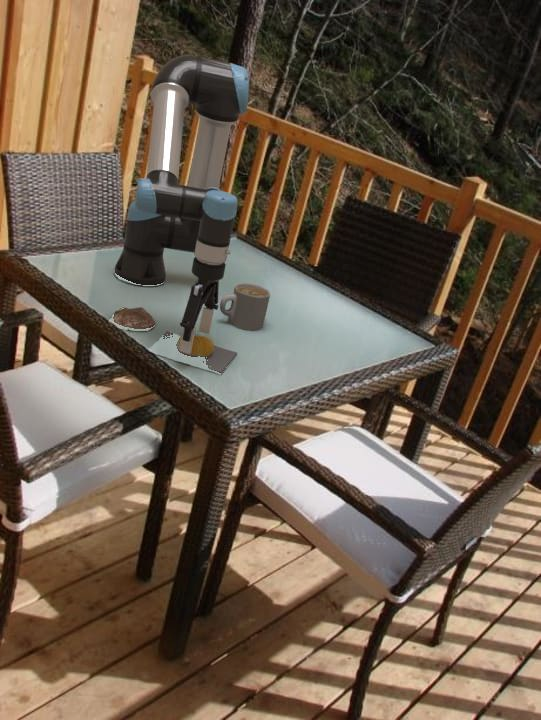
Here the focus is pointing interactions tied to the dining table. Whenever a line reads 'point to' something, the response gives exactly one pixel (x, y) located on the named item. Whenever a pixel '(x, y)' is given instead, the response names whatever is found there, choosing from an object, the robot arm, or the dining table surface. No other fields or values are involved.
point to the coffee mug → (246, 306)
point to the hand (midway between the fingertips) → (194, 342)
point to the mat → (216, 357)
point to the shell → (134, 318)
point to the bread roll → (199, 347)
